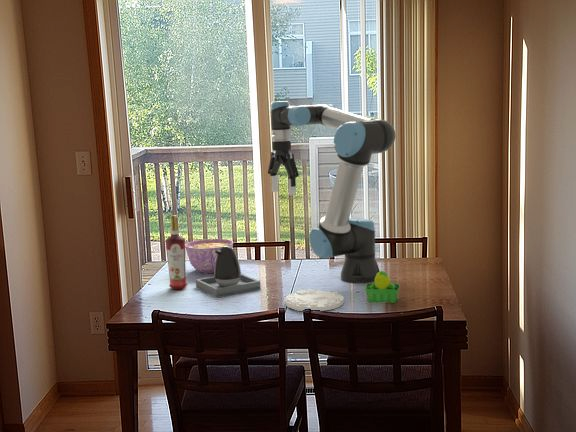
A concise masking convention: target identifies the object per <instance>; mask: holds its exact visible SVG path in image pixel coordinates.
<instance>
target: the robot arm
mask: <svg viewBox="0 0 576 432" xmlns="http://www.w3.org/2000/svg"><path fill="white" fill-rule="evenodd" d="M270 125H271V126H270V127H271V138H272V139H271V140H273V141H272V142H271V145H272V146H271V148H272V151H270V160H269V164H268V169H267V174H268V175H269V176H270V177H271V179H270V181H271V192H272V193H276V192H279V176H278V172H279V169H280V167H281V165H282V166H283V167H284V168H285V170H286V171H285V172H286V173H287V175H288V196H294V195H295V196H296V195H297V190H296V189H297V188H296V187H297V183H296V181H297V180H296V179H297V178H299V176H300V174H299V171H298V167H297V164H296V161H295V155H294V152H289V151H291V150H292V141H291V139H292V135H291V126H293V127H294V126H295V127H302V126H303V127H304V126H307V125H308V126H309V125H322V126H325V127H328V128H331V129H334V130H336V131H335V132H334V133H335V134H334V136H333V144H334V150H335V152H336V153H337V155H336V156H337V158H338V159H339V163H338V167H337V170H336V175H335V178H334V182H333V186H332V190H331V194H330V197H329V202H328V205H327V209H326V212H325V216H322V217H321V218H320V221H319V223H318V227H314V228H312V229H311V230H310V232H309V235H308V236H309V244H310V247H311V249H312V252H313V253H314V254H315V256H317V257H318V258H320V259H332V258H334V257H339V256H344V261H343V263H342V267H341V270H340V279H341V280H342V281H344V282H348V283H349V282H350V283H370V282H371V283H372V282H374V280H375V277H376V275H377V273H378V272H380V271H381V270H380V268H379V265H378V263H377V262H378V261H377V259H376V230H375V223H374V222H373V220H371V219H367V218H359V217H351V213H352V210H353V207H354V204H355V203H354V202H355V198H356V196H357V192H358V188H359V185H360V181H361V178H362V174H363V170H364V167H366V166H368V165H369V164H370V161H371V159H372V155H375V154H382V153H385V152H387V151H388V150H390V149H391V148H392V146H393V145H394V144H395V140H396V130H395V127H394V126H393V124H391V123H390V122H389V121H388V120H385V119H383V118H382V119H381V118H378V117H372V118H369V117H366V116H365V117H364V116H362V115H358V114H354V113H351V112H348V111H346V110H345V111H344V110H341V109H338V108H337V107H336V106H335V105H334V104H327V103H324V104H312V105H310V104H308V105H306V104H304V105H290V102H289V101H288V100H281V101H279V100H278V101H271V103H270Z"/></svg>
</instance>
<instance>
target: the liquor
mask: <svg viewBox="0 0 576 432" xmlns="http://www.w3.org/2000/svg"><path fill="white" fill-rule="evenodd" d="M169 219H170V220H169V221H170V236H169V237H167V238H166V239H165V242H164V243H165V249H166V251H165V252H166V258H167V264H168V265H167V267H168V275H169V285H168V287H169V288H170V289H172V290H173V291H181V290H182V291H183V290H184V289H185V288H187V286H188V283H187V276H186V274H187V273H186V271H187V270H186V248H185V244H186V239H185V238H184V237H183V236H181V235H180V234H179V229H178V228H179V227H178V215H176V214H175V215H170V216H169Z"/></svg>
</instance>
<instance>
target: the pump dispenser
mask: <svg viewBox="0 0 576 432" xmlns="http://www.w3.org/2000/svg"><path fill="white" fill-rule="evenodd" d="M215 253H217V258H216V262H215V267H214V273H213V277H214V278H215V280H216V282H217V283H218V285H220V286H222V287H228V286H233V285H237V284H238V282H239V281H240V277H241V274H242V270H241V265H240V262H239V259H238V256H237V254H236V252H235V250H234V248H233V247H232V248H231V247H230V246H223V247H222V248H221V249H220V250H219V251H217V250H216V251H215Z"/></svg>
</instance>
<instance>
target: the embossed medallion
mask: <svg viewBox="0 0 576 432" xmlns="http://www.w3.org/2000/svg"><path fill="white" fill-rule="evenodd" d="M284 303H285V306H286V307H287V308H288V309H289V308H291V309H292V310H294V311H296V310H297V312H304V311H303V310H304V309H307V308H310V309H312V310H320V311H319V312H324V311H330V310H334V309H337V308H340V307H341V306H343V305H344V296H342V295H341V294H339V292H338V291H327V290H326V291H325V290H314V289H313V288H311V289H309V288H308V289H305V290H304V289H300V290H297V291H296V292H295V293H294V292H293V293H289V294H288V295H286V297H285V300H284Z"/></svg>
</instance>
